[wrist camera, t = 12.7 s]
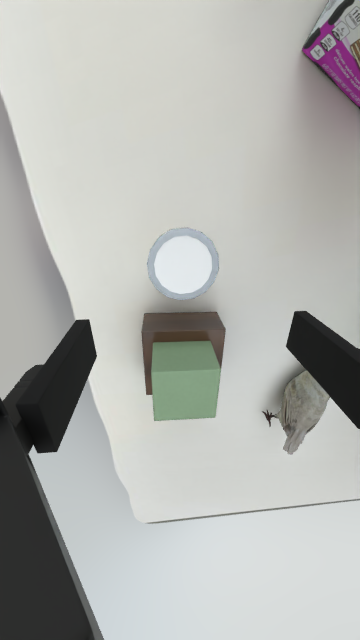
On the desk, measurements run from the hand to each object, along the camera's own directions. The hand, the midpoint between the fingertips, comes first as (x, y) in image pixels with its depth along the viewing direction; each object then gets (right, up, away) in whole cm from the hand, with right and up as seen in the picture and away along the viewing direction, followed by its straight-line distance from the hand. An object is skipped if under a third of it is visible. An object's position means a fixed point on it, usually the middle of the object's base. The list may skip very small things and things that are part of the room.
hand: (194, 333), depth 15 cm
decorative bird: (+18, -10, +24) cm, 32 cm away
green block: (-1, -5, +14) cm, 15 cm away
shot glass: (-1, +9, +13) cm, 16 cm away
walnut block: (-1, -3, +19) cm, 19 cm away
